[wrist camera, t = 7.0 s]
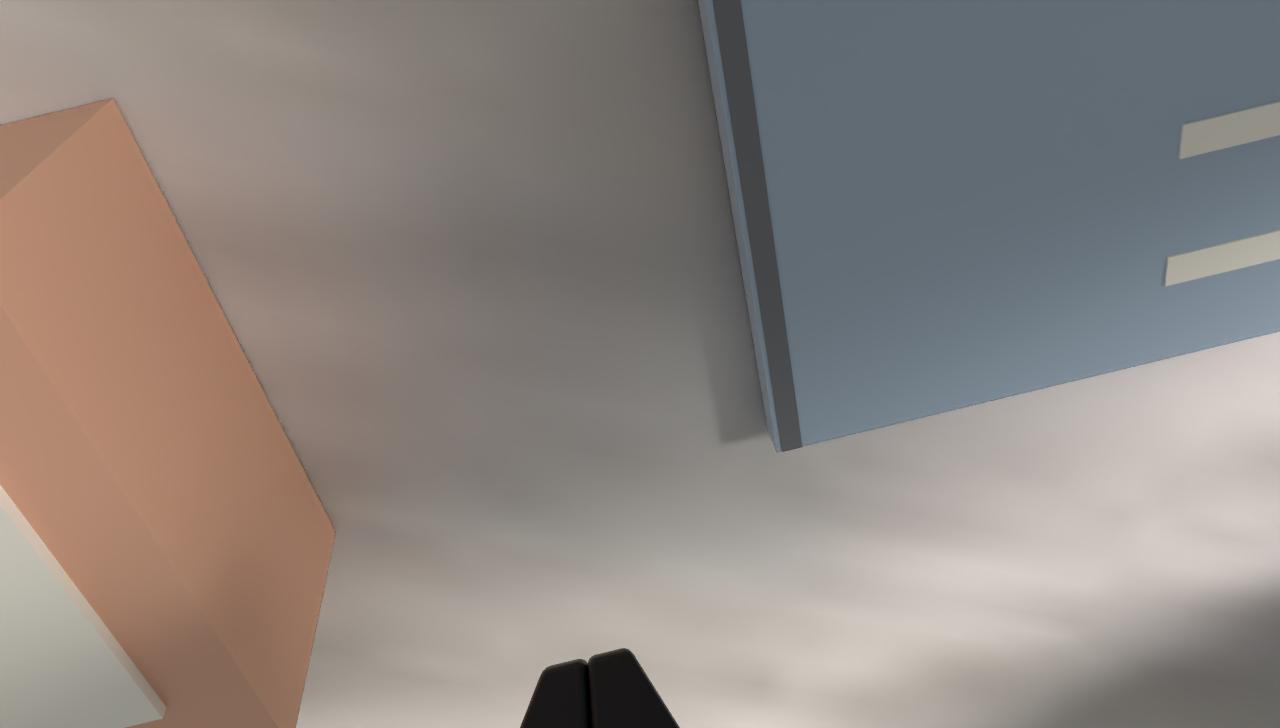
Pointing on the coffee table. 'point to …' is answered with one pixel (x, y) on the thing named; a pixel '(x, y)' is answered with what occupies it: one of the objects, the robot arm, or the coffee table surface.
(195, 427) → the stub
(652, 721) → the robot arm
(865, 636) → the coffee table surface
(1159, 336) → the blue book
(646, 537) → the coffee table surface
